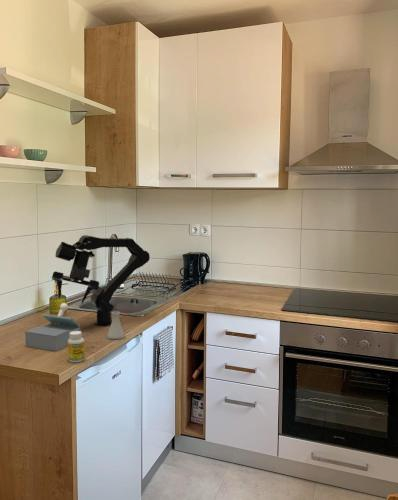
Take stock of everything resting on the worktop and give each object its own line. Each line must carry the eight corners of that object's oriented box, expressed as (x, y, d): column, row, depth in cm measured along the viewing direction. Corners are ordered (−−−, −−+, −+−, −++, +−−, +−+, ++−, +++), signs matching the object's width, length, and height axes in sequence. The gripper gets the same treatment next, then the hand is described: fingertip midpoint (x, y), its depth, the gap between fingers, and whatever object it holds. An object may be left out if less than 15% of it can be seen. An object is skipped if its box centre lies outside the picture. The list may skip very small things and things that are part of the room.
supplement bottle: (81, 356, 158) (80, 329, 157) (87, 360, 154) (86, 333, 153) (66, 359, 155) (65, 331, 154) (71, 364, 151) (70, 336, 150)
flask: (126, 334, 182) (126, 310, 181) (124, 340, 175) (123, 315, 174) (108, 334, 182) (108, 310, 181) (105, 340, 175) (104, 315, 174)
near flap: (51, 323, 180) (58, 307, 184) (79, 326, 175) (86, 311, 178) (41, 315, 175) (49, 300, 178) (71, 319, 170) (78, 303, 173)
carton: (51, 335, 181) (51, 321, 180) (80, 339, 176) (80, 325, 175) (25, 346, 168) (25, 331, 167) (56, 351, 163) (55, 336, 162)
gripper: (57, 254, 178) (47, 293, 174) (104, 266, 183) (95, 304, 179) (57, 260, 189) (46, 297, 184) (101, 271, 193) (92, 307, 189)
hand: (70, 301), depth 184 cm, fingers open, 9 cm apart
